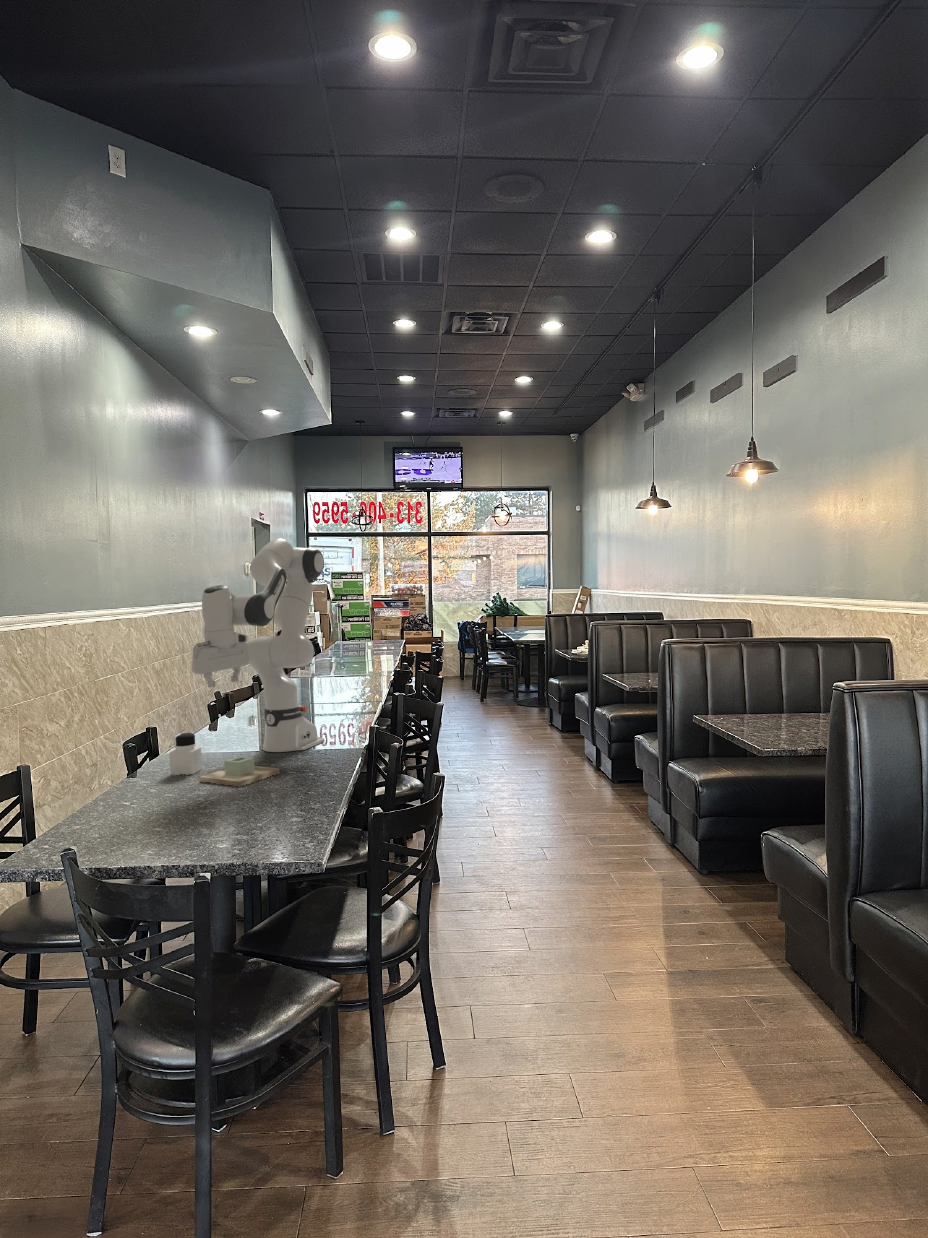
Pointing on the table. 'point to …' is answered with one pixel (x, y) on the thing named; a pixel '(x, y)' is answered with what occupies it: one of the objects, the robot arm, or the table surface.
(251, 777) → the base plate
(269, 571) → the robot arm
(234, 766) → the green block with hole
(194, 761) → the medicine bottle
